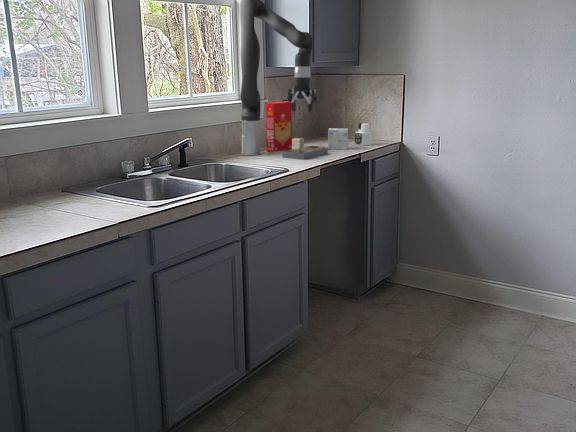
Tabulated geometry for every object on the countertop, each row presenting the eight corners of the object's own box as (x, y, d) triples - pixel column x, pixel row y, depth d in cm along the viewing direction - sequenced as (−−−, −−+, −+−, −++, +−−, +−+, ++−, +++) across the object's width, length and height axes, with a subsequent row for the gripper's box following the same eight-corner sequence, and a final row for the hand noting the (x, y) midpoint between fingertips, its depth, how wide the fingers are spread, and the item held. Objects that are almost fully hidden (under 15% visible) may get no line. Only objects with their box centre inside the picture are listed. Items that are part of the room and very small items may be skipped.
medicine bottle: (354, 144, 332) (355, 122, 329) (365, 143, 335) (366, 122, 332) (361, 145, 326) (361, 124, 323) (372, 145, 329) (372, 123, 325)
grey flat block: (303, 161, 276) (303, 152, 275) (282, 159, 283) (282, 150, 281) (327, 155, 293) (328, 146, 292) (307, 153, 300) (307, 145, 299)
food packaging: (274, 152, 303) (274, 103, 296) (266, 151, 306) (265, 103, 300) (291, 149, 314) (291, 101, 308) (283, 148, 317) (283, 101, 311)
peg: (299, 158, 279) (299, 139, 277) (292, 157, 282) (292, 138, 279) (303, 157, 283) (303, 138, 280) (296, 156, 285) (296, 137, 282)
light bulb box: (347, 147, 318) (348, 128, 316) (347, 149, 312) (348, 129, 309) (328, 147, 319) (328, 127, 317) (327, 149, 313) (328, 129, 310)
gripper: (319, 76, 275) (318, 111, 279) (292, 76, 281) (292, 110, 286) (312, 76, 268) (311, 112, 272) (285, 76, 275) (285, 111, 279)
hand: (301, 111), depth 279 cm, fingers open, 8 cm apart
